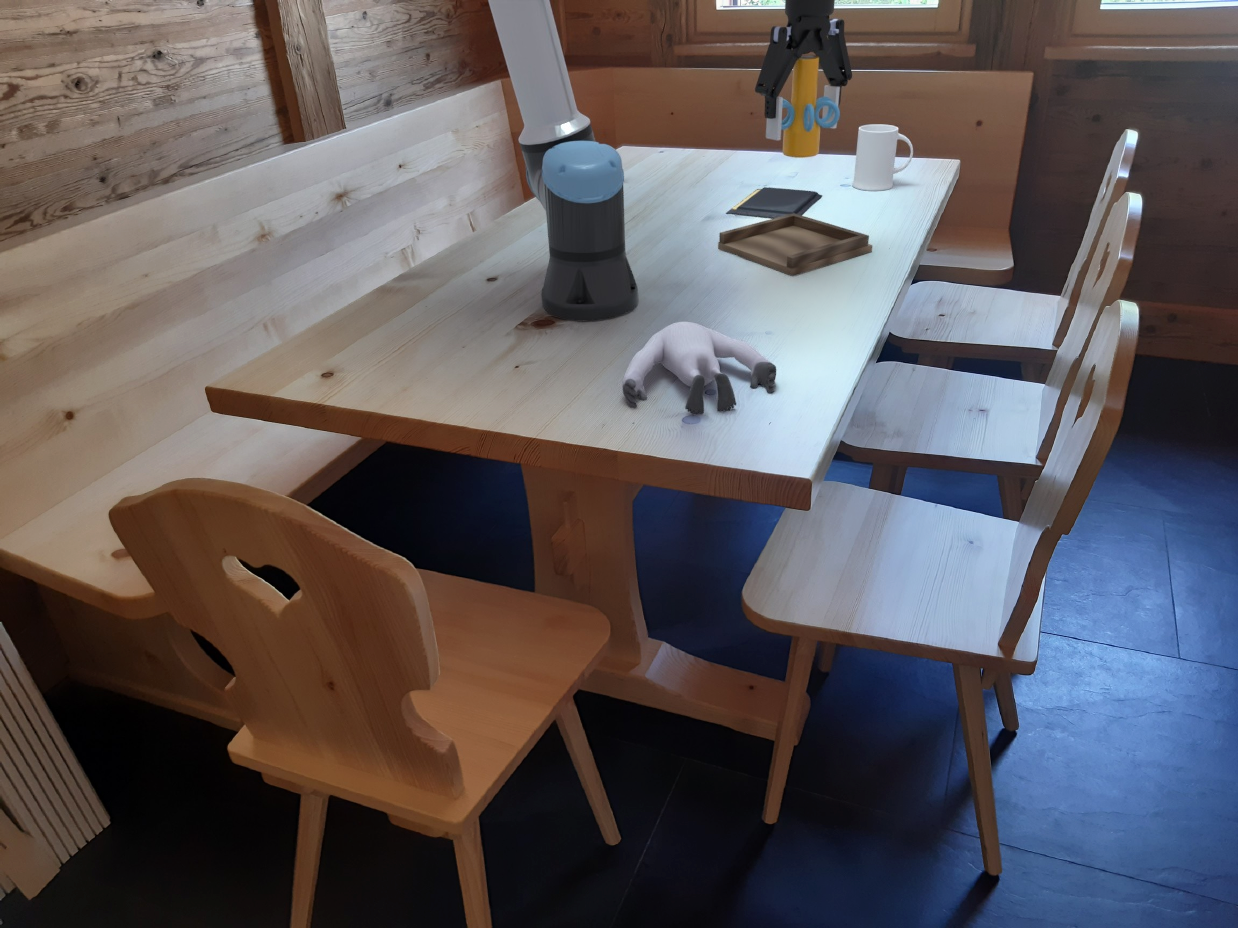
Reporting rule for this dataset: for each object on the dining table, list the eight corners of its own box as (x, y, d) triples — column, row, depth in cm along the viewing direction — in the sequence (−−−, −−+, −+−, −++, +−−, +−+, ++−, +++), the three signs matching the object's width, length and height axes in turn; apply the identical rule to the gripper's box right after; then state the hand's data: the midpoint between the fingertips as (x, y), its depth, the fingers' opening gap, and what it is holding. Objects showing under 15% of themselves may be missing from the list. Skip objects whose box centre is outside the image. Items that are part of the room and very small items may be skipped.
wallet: (795, 215, 176) (722, 207, 182) (795, 224, 177) (722, 216, 183) (826, 189, 191) (758, 183, 197) (826, 198, 192) (758, 192, 198)
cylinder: (755, 158, 152) (758, 61, 144) (776, 145, 159) (780, 52, 152) (826, 164, 147) (834, 63, 139) (844, 150, 154) (853, 54, 147)
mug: (909, 182, 198) (916, 124, 192) (908, 192, 191) (915, 133, 185) (853, 180, 201) (858, 123, 195) (850, 190, 194) (856, 132, 188)
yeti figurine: (782, 425, 112) (756, 355, 129) (791, 376, 108) (762, 310, 125) (623, 420, 110) (617, 350, 127) (626, 370, 107) (620, 305, 124)
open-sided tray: (792, 276, 150) (793, 258, 149) (718, 248, 164) (718, 232, 162) (871, 251, 159) (873, 235, 158) (794, 227, 173) (795, 212, 171)
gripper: (768, -6, 132) (762, 148, 143) (883, -18, 143) (869, 125, 154) (734, -8, 137) (731, 141, 148) (847, -20, 148) (836, 119, 160)
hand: (801, 133), depth 151 cm, fingers closed on cylinder, 12 cm apart
